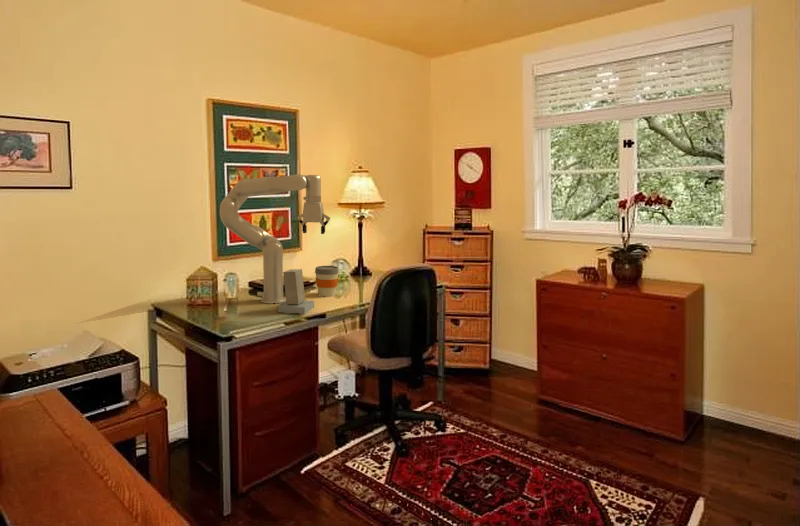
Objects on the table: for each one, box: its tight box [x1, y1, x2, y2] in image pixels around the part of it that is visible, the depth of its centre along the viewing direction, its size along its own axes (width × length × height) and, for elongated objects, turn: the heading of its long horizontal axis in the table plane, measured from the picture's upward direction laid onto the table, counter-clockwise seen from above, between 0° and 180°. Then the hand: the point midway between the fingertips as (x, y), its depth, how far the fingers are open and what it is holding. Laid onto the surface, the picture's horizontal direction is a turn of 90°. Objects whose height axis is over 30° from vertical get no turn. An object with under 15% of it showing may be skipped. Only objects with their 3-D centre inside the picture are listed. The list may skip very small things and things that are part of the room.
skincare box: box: [283, 268, 306, 305], centre depth 258 cm, size 8×7×16 cm
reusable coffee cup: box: [314, 265, 339, 298], centre depth 292 cm, size 13×13×15 cm
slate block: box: [277, 299, 315, 315], centre depth 259 cm, size 13×13×4 cm
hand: (313, 233), depth 277 cm, fingers open, 9 cm apart
